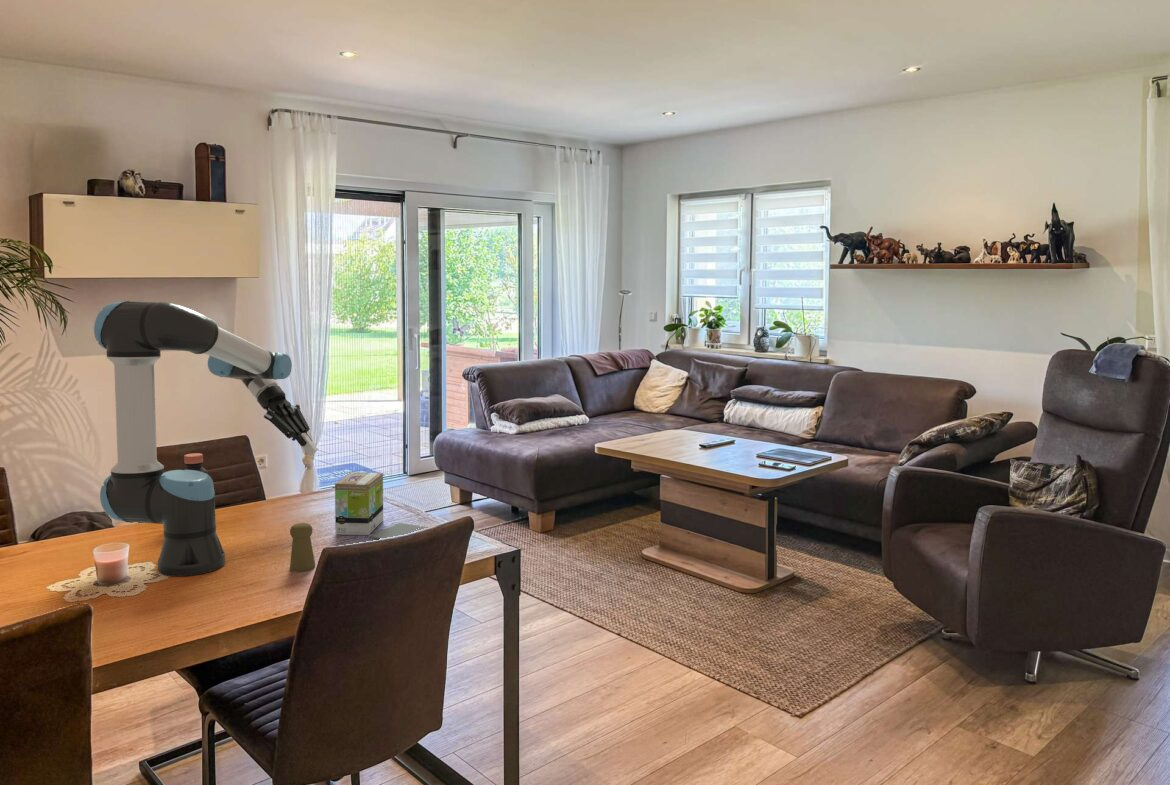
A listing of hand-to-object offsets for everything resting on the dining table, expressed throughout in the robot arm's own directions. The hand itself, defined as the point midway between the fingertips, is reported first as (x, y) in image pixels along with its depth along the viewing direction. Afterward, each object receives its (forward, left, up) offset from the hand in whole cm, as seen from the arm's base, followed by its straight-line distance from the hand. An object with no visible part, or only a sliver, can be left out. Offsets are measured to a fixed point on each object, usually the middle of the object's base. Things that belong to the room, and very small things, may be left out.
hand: (314, 452), depth 248 cm
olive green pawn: (-34, -26, -20) cm, 47 cm away
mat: (-1, -30, -20) cm, 36 cm away
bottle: (-17, +29, -20) cm, 39 cm away
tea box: (-1, -17, -20) cm, 26 cm away
